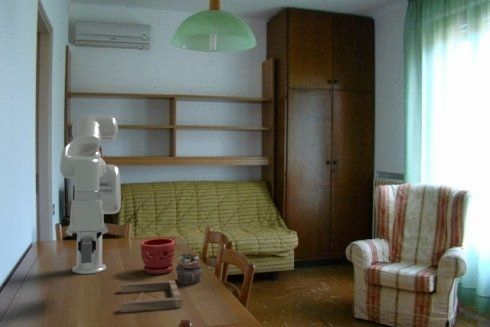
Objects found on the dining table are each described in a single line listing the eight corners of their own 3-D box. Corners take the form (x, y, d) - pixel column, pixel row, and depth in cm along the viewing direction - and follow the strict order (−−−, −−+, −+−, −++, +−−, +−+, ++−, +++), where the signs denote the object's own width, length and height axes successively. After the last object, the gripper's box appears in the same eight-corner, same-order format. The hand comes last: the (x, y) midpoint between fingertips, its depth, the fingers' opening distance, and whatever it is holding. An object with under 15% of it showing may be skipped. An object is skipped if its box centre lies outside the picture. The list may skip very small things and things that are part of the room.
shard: (142, 295, 146) (142, 290, 146) (165, 296, 146) (165, 291, 146) (133, 307, 135) (133, 301, 135) (158, 308, 135) (158, 302, 135)
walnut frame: (120, 291, 149) (120, 283, 149) (174, 287, 154) (174, 280, 154) (121, 312, 130) (121, 304, 130) (182, 307, 135) (182, 299, 135)
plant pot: (156, 265, 183) (156, 236, 183) (181, 270, 176) (181, 240, 176) (133, 272, 172) (133, 242, 171) (159, 278, 165) (159, 246, 165)
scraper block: (83, 253, 148) (83, 235, 147) (92, 252, 149) (92, 235, 148) (81, 263, 136) (81, 244, 136) (91, 262, 137) (91, 243, 137)
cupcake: (207, 281, 162) (207, 254, 162) (187, 287, 155) (187, 258, 154) (190, 276, 168) (190, 250, 168) (170, 281, 161) (170, 254, 161)
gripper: (113, 194, 148) (113, 248, 149) (60, 195, 143) (61, 251, 144) (113, 197, 140) (113, 254, 141) (58, 198, 136) (58, 257, 137)
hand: (87, 252), depth 143 cm, fingers closed on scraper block, 2 cm apart
